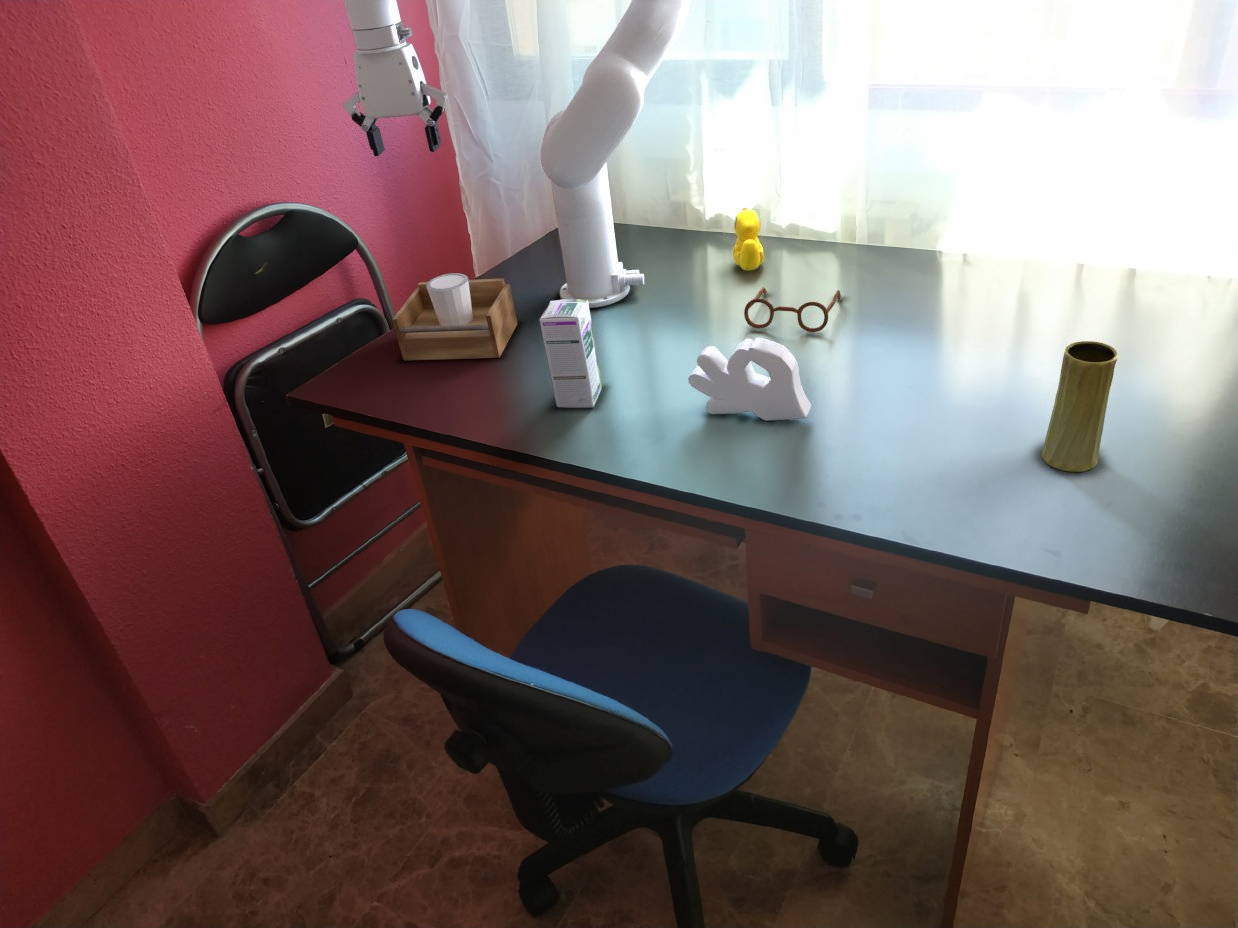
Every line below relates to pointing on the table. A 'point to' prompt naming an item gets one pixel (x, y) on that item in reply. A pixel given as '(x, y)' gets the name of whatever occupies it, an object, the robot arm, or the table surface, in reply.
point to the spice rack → (473, 340)
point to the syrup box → (571, 353)
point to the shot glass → (451, 299)
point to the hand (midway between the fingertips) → (407, 151)
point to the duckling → (747, 240)
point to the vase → (1080, 407)
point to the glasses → (799, 311)
